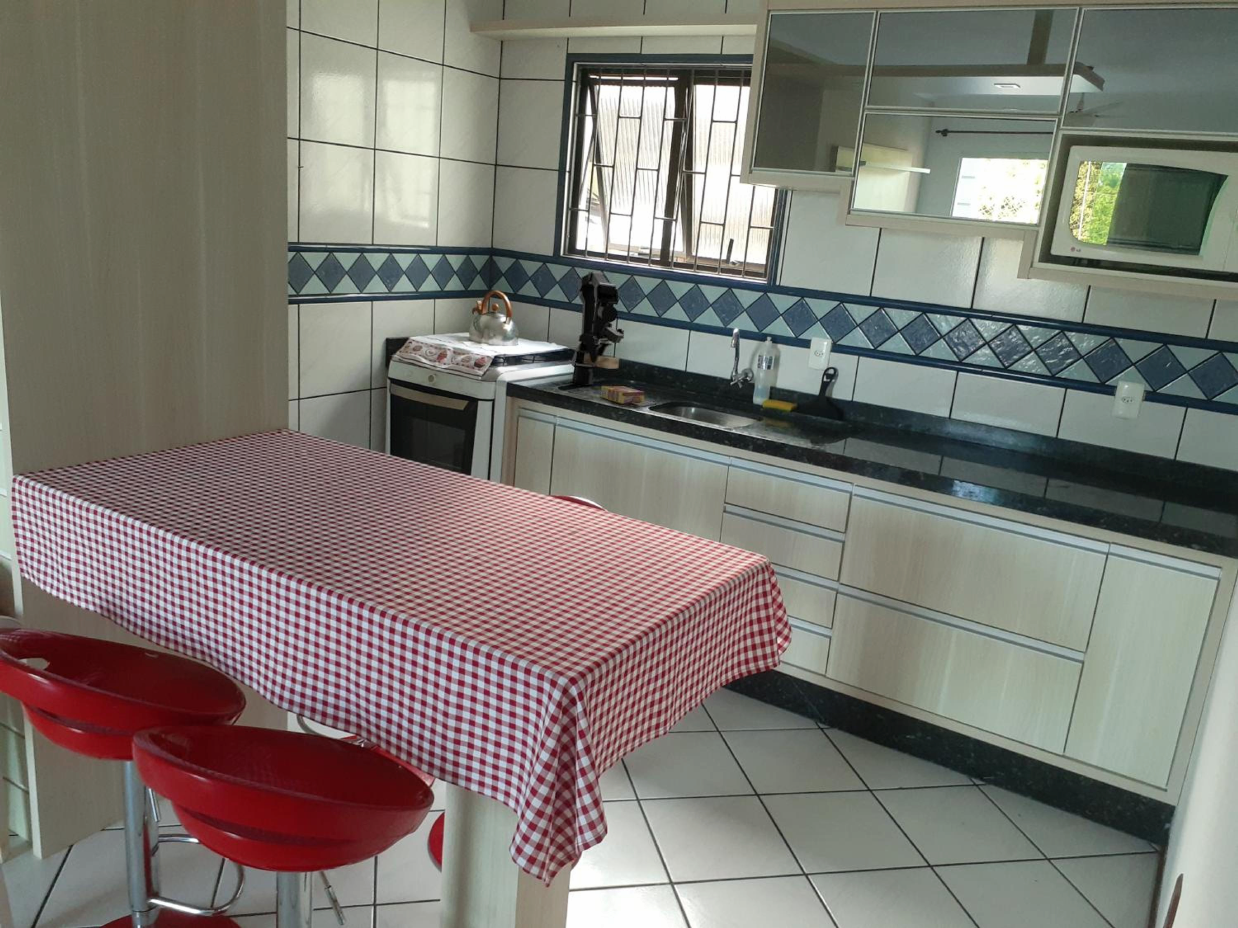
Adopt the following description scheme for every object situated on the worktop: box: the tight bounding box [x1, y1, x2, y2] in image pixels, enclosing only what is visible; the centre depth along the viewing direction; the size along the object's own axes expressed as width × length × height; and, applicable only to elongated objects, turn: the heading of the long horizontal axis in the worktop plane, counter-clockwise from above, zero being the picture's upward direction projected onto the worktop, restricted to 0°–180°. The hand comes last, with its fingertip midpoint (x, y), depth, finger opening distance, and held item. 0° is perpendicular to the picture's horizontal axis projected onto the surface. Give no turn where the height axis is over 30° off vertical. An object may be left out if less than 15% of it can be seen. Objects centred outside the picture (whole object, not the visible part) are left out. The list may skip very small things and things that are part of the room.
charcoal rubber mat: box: [608, 399, 657, 408], centre depth 338 cm, size 12×14×1 cm
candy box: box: [600, 385, 645, 405], centre depth 333 cm, size 9×4×15 cm
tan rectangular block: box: [583, 354, 620, 370], centre depth 341 cm, size 12×6×4 cm, turn 56°
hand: (595, 362), depth 342 cm, fingers closed on tan rectangular block, 3 cm apart
